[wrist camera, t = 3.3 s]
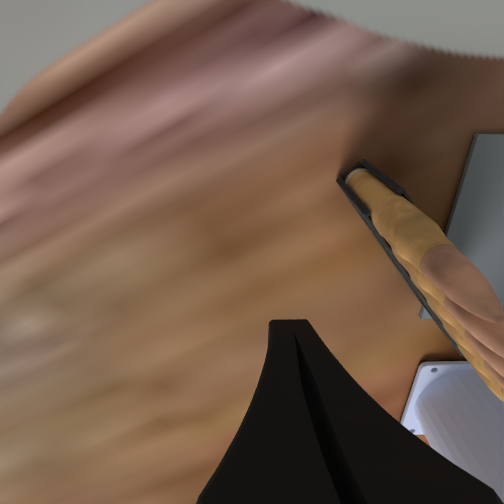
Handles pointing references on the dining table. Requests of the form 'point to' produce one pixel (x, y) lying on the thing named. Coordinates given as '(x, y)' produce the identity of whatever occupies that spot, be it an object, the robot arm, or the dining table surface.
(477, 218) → the mat
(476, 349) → the ammunition clip
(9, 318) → the dining table surface
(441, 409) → the robot arm
